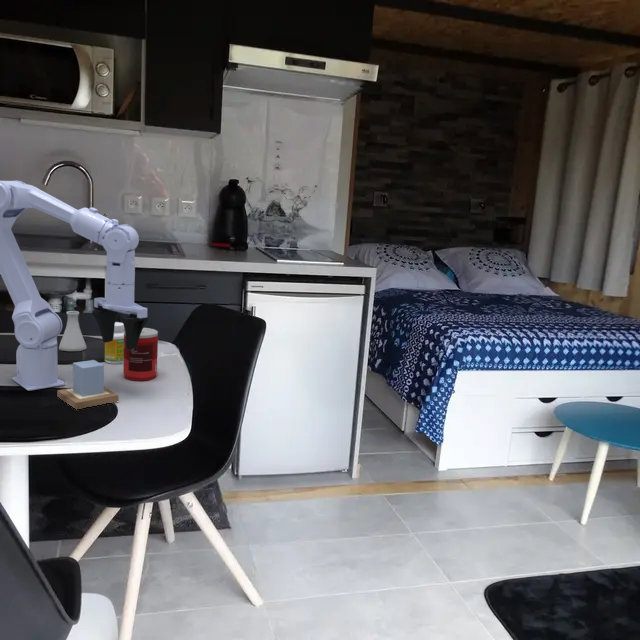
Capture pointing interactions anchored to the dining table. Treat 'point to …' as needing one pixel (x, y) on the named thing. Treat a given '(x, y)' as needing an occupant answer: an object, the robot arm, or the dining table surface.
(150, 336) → the canned food
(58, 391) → the plinth
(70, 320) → the flask
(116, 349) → the supplement bottle
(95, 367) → the block
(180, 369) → the dining table surface
